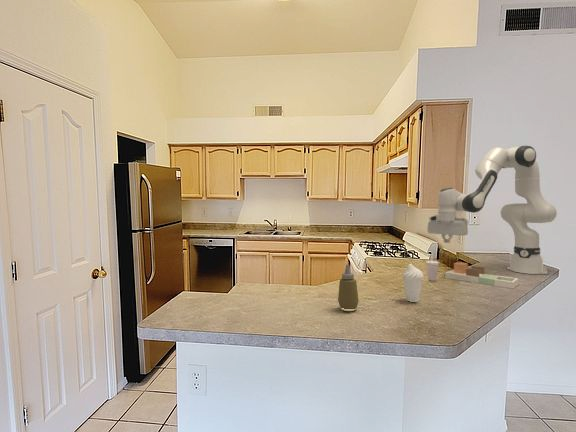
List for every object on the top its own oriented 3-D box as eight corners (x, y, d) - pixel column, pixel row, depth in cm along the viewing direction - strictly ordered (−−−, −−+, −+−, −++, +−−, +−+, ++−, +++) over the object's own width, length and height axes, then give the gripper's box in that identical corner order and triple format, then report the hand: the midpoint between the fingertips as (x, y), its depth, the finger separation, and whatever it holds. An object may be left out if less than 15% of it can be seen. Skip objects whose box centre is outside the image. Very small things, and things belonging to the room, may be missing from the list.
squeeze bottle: (359, 307, 126) (359, 263, 125) (357, 314, 118) (356, 267, 118) (339, 305, 129) (339, 262, 128) (336, 312, 121) (335, 266, 120)
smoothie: (436, 278, 168) (436, 252, 167) (441, 281, 162) (441, 254, 161) (424, 278, 169) (424, 252, 168) (428, 281, 162) (428, 254, 162)
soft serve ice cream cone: (423, 299, 134) (423, 262, 133) (423, 305, 126) (422, 266, 126) (403, 297, 137) (402, 261, 137) (401, 303, 130) (400, 265, 129)
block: (457, 271, 171) (457, 262, 171) (467, 272, 167) (467, 263, 167) (453, 272, 168) (453, 263, 168) (464, 274, 164) (464, 264, 164)
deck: (452, 274, 176) (452, 263, 175) (518, 284, 153) (518, 271, 153) (445, 277, 169) (445, 266, 169) (513, 288, 146) (513, 275, 146)
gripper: (469, 217, 166) (469, 243, 166) (431, 216, 181) (431, 240, 182) (465, 218, 162) (465, 244, 162) (426, 217, 177) (426, 241, 178)
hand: (446, 242), depth 172 cm, fingers closed
